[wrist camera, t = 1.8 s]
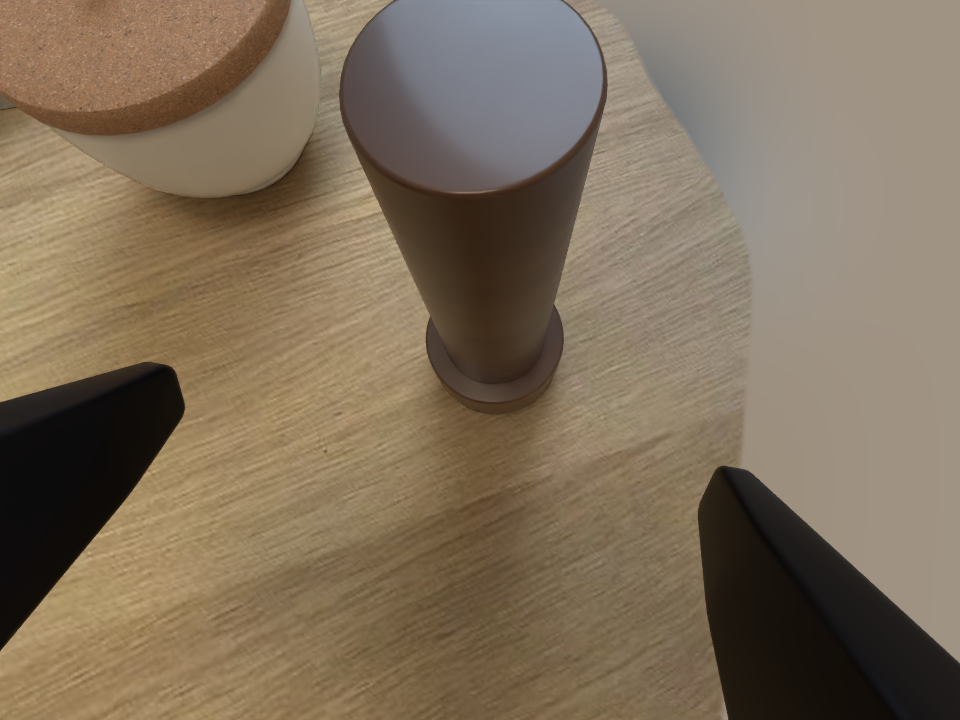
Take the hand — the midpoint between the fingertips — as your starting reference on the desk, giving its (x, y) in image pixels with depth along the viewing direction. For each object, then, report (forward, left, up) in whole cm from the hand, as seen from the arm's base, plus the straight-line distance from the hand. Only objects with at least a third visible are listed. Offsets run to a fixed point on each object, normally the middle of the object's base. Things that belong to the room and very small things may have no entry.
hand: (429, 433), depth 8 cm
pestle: (+4, -2, -11) cm, 12 cm away
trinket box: (+18, +6, -11) cm, 22 cm away
